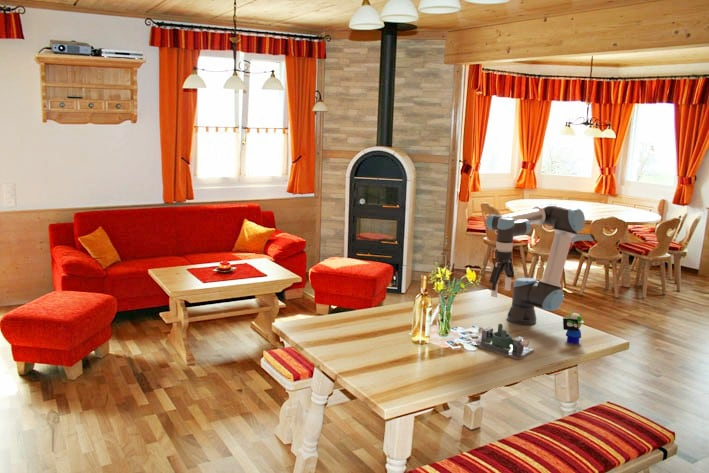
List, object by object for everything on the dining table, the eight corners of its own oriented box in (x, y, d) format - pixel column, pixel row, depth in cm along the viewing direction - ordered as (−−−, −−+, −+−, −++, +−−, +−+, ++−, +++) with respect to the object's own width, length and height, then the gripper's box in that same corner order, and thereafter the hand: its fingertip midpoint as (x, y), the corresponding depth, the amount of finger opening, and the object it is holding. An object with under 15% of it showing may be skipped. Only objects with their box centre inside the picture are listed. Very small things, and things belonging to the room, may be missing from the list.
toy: (559, 342, 304) (562, 313, 301) (567, 337, 311) (570, 309, 308) (576, 347, 298) (580, 317, 295) (584, 342, 305) (588, 313, 302)
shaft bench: (486, 336, 307) (488, 323, 306) (533, 351, 291) (535, 337, 289) (470, 344, 296) (471, 330, 295) (518, 359, 280) (519, 345, 278)
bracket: (502, 350, 288) (504, 331, 286) (487, 343, 295) (489, 325, 293) (515, 346, 293) (517, 328, 291) (499, 340, 300) (501, 322, 298)
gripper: (508, 244, 304) (505, 286, 308) (483, 253, 285) (480, 297, 290) (523, 247, 299) (519, 289, 304) (498, 256, 280) (495, 301, 285)
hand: (500, 293), depth 297 cm, fingers open, 13 cm apart
